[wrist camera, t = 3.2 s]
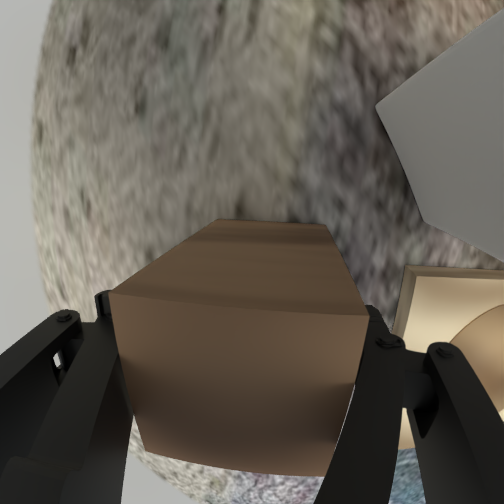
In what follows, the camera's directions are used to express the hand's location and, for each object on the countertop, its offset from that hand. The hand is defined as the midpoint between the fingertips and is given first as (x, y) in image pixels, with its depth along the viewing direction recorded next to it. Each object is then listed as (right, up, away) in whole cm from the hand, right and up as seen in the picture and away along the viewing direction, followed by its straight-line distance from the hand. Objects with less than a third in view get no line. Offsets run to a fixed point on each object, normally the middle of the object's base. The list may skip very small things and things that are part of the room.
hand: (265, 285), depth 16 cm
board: (+16, -6, +1) cm, 17 cm away
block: (0, 0, +2) cm, 2 cm away
